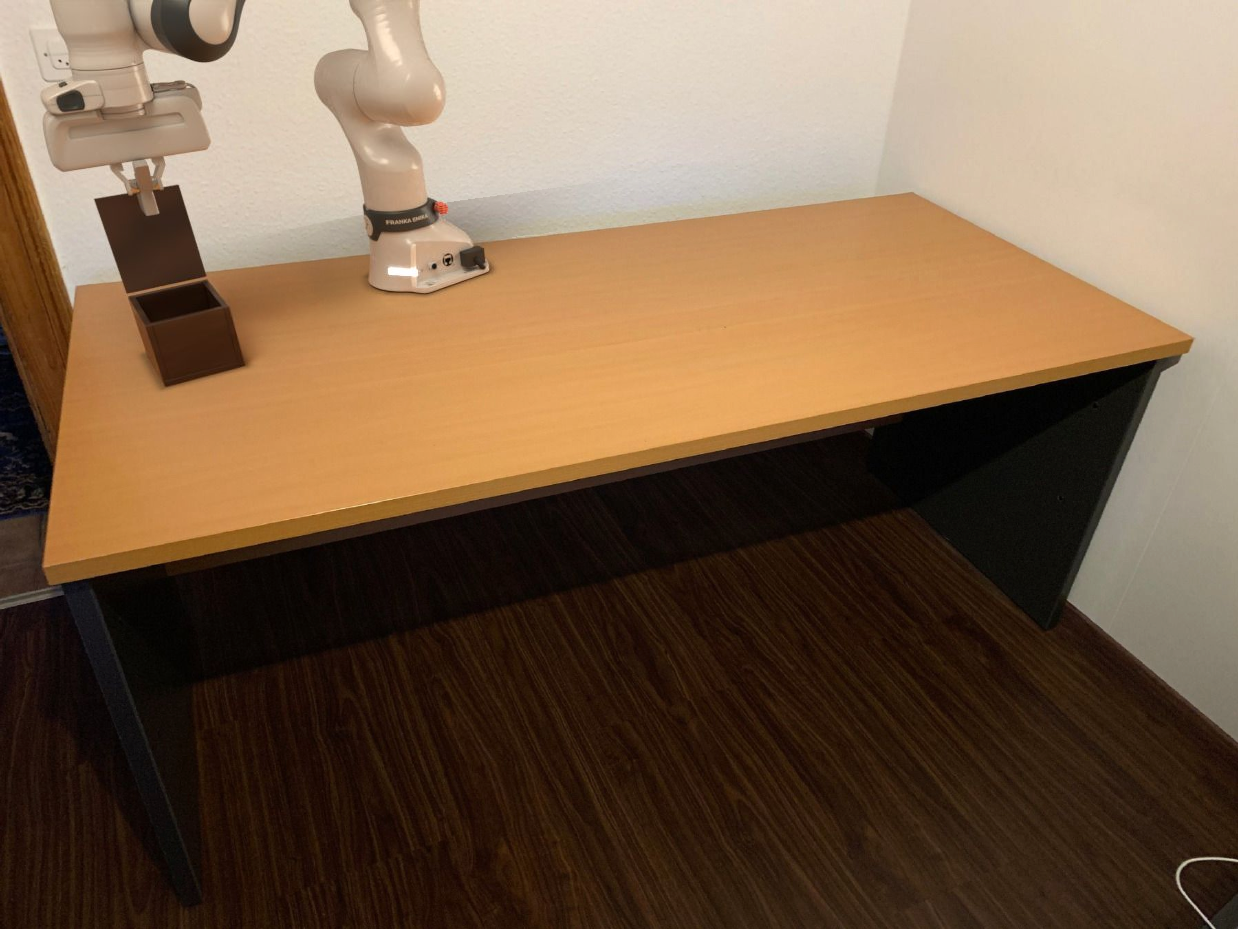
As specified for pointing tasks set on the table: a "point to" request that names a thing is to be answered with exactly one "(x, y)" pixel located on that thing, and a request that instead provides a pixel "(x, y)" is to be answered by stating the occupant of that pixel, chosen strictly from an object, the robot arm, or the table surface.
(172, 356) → the chest
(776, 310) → the table surface
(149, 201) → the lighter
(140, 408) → the table surface
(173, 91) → the robot arm
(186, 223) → the lid
